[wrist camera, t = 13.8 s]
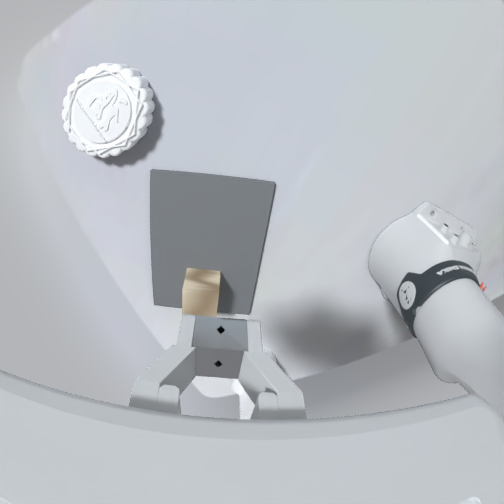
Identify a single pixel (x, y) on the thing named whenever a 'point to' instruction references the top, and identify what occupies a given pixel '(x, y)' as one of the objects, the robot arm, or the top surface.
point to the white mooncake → (108, 109)
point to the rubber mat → (207, 234)
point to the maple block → (200, 292)
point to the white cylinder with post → (245, 400)
